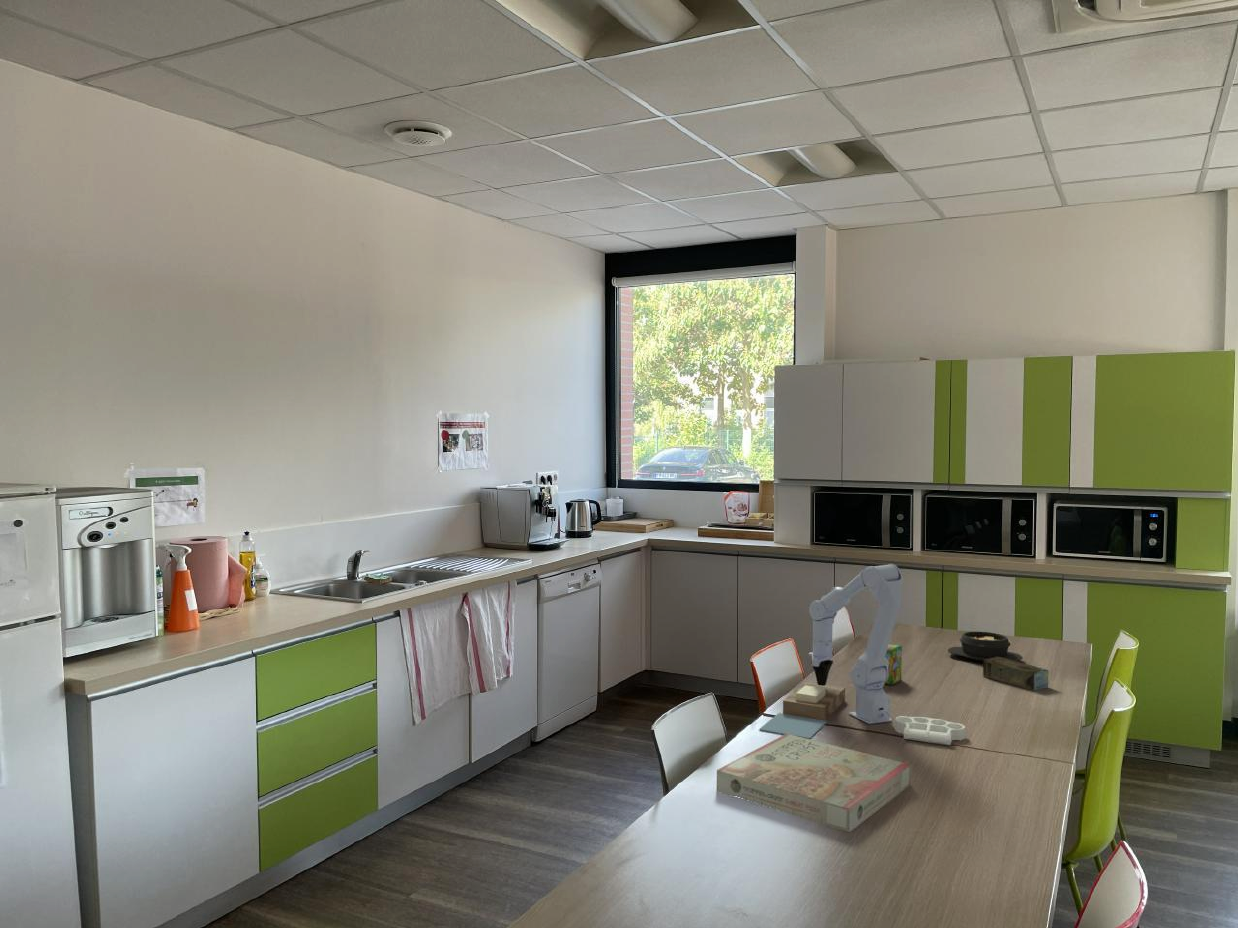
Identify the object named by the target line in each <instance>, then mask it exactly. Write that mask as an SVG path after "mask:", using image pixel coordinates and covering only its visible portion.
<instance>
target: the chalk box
mask: <svg viewBox="0 0 1238 928" xmlns="http://www.w3.org/2000/svg"><path fill="white" fill-rule="evenodd" d="M866 647H867V645H866V646H865V648H866ZM902 653H903V646H902V645H900V644H893V643H890V642H889V645H888V648H887V652H886V655H885V658H886V659H887V660H888V661H889V666H888V673H889V675H888V679H887V680H886V681H885V682H884V685H890V686H893V685H895V684H896V683H898V682H900V681H902V666H903V665H902V663H903V661H902V659H903V656H902V655H903V654H902Z"/></svg>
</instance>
